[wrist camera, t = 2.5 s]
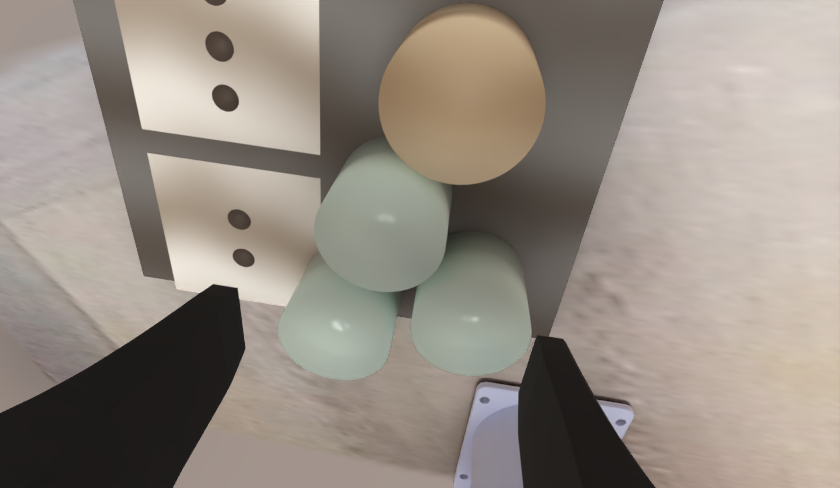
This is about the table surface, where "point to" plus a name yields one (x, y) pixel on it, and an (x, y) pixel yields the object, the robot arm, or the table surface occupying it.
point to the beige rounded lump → (463, 95)
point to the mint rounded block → (337, 324)
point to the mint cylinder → (383, 221)
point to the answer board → (334, 129)
